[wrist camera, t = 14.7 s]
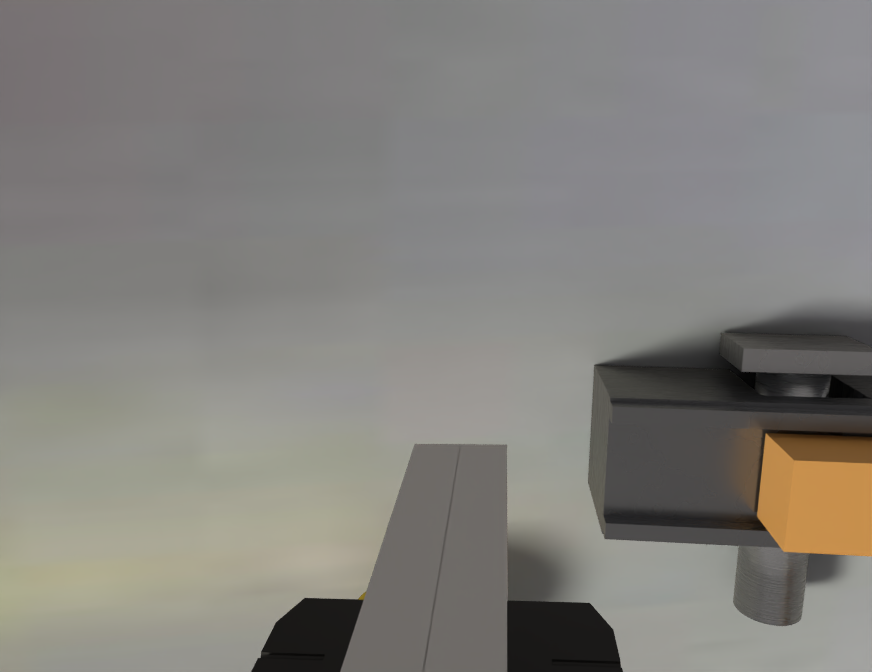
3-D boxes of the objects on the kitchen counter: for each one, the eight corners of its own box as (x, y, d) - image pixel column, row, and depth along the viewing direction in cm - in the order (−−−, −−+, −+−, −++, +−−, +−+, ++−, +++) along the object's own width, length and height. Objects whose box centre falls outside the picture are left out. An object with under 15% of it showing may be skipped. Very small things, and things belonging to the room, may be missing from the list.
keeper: (765, 431, 30) (795, 460, 27) (923, 437, 29) (971, 467, 26) (756, 517, 30) (784, 554, 27) (909, 524, 30) (955, 563, 27)
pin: (721, 332, 34) (744, 348, 31) (846, 336, 34) (883, 352, 31) (698, 586, 37) (717, 625, 34) (814, 592, 37) (844, 633, 33)
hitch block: (594, 365, 36) (612, 403, 29) (900, 374, 34) (986, 416, 28) (588, 482, 37) (604, 542, 31) (883, 495, 36) (962, 560, 29)
